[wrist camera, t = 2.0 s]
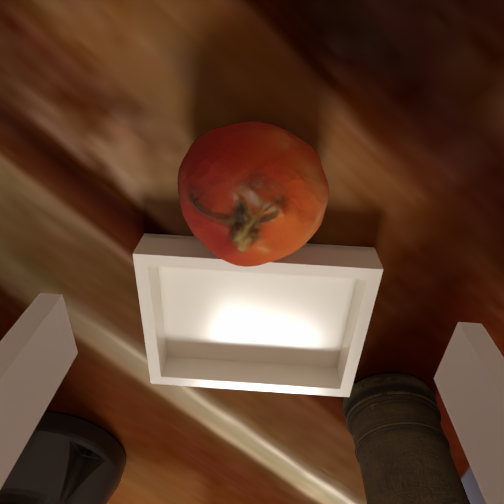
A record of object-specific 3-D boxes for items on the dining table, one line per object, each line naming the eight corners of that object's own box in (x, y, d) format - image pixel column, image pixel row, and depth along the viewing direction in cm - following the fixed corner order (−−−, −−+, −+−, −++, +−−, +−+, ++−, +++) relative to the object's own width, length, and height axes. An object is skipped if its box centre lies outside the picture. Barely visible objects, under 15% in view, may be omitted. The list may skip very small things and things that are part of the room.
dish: (159, 358, 38) (150, 383, 36) (144, 233, 31) (132, 253, 28) (344, 371, 38) (349, 397, 36) (374, 247, 31) (383, 269, 28)
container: (328, 386, 39) (362, 626, 24) (419, 359, 37) (521, 610, 22) (359, 436, 43) (405, 669, 28) (443, 415, 41) (543, 659, 26)
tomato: (346, 185, 28) (369, 242, 21) (245, 249, 31) (236, 316, 25) (269, 72, 24) (267, 98, 18) (163, 158, 28) (127, 208, 21)
